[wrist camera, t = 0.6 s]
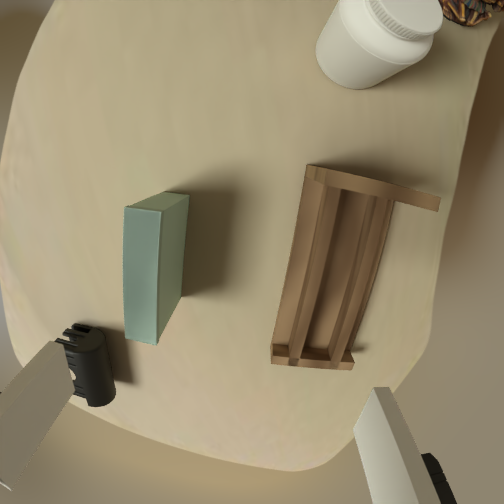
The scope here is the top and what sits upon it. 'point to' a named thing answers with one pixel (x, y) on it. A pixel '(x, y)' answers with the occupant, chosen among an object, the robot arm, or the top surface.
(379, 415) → the robot arm
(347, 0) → the pill bottle
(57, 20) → the top surface
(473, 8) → the figurine
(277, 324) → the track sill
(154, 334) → the door panel
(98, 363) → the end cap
